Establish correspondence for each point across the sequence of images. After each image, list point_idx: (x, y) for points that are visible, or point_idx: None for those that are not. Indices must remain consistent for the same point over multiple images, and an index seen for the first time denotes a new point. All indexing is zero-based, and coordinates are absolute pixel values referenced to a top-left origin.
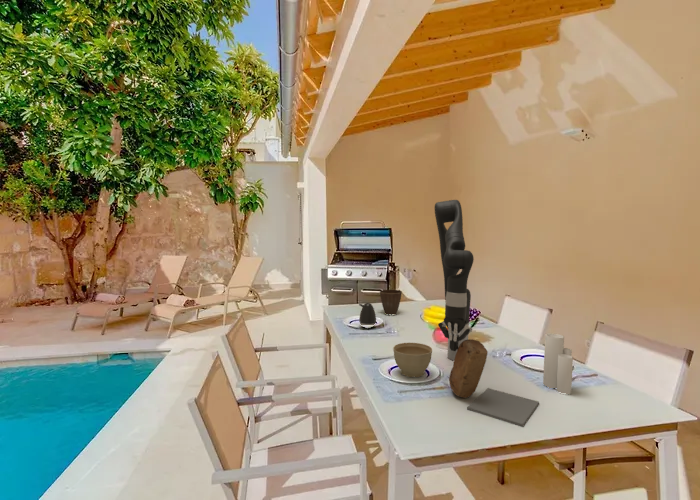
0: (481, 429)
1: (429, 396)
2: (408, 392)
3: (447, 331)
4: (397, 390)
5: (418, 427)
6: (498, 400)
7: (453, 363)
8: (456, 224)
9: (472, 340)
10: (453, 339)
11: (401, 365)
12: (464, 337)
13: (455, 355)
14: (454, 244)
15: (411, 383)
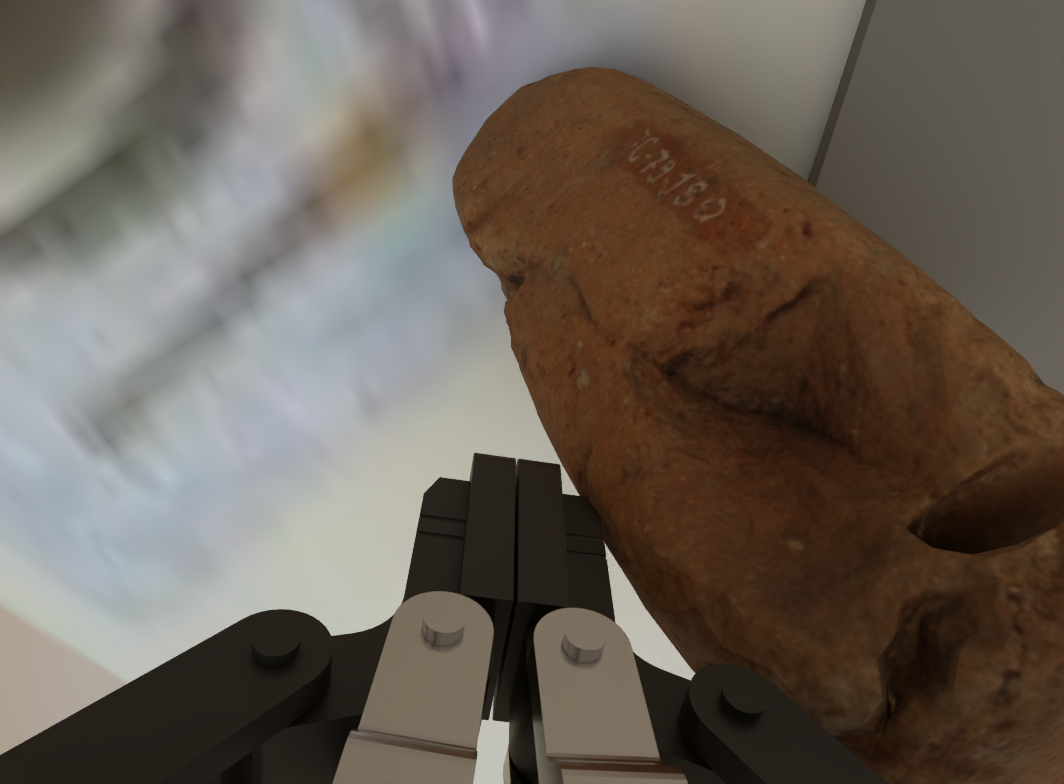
0: None
1: (361, 398)
2: (167, 414)
3: (181, 779)
4: (65, 424)
5: (483, 770)
6: (1005, 218)
7: (513, 350)
8: None
9: (1046, 738)
10: (506, 774)
11: None
12: (820, 769)
13: (543, 426)
14: None
15: (56, 209)
